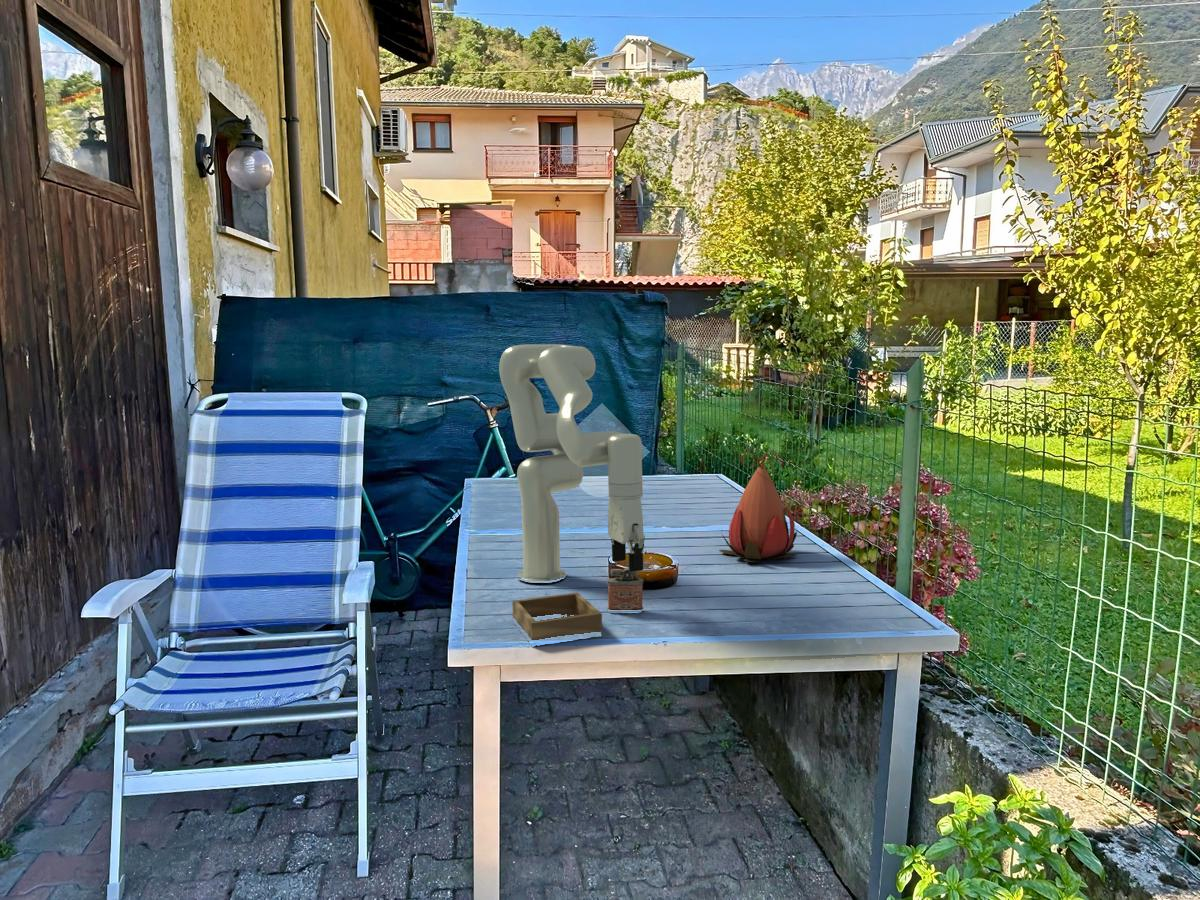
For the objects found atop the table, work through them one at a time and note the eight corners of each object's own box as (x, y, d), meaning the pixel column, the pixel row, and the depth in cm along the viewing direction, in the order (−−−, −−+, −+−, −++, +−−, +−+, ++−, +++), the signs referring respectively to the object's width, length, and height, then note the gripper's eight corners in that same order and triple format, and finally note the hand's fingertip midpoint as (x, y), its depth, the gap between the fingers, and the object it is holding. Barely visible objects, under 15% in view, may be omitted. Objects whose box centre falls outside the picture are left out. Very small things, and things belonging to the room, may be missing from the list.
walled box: (512, 622, 174) (512, 600, 173) (577, 614, 179) (577, 592, 178) (532, 647, 160) (531, 623, 159) (602, 636, 165) (601, 613, 164)
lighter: (642, 608, 182) (642, 566, 181) (643, 613, 179) (643, 570, 177) (607, 609, 182) (607, 566, 181) (607, 614, 179) (607, 571, 177)
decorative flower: (798, 548, 233) (801, 447, 229) (795, 571, 211) (798, 458, 207) (723, 544, 239) (724, 445, 234) (712, 565, 217) (713, 456, 212)
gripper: (595, 486, 183) (597, 558, 185) (625, 497, 167) (626, 577, 169) (626, 483, 186) (627, 555, 188) (657, 494, 170) (659, 572, 172)
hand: (627, 565), depth 178 cm, fingers open, 9 cm apart
